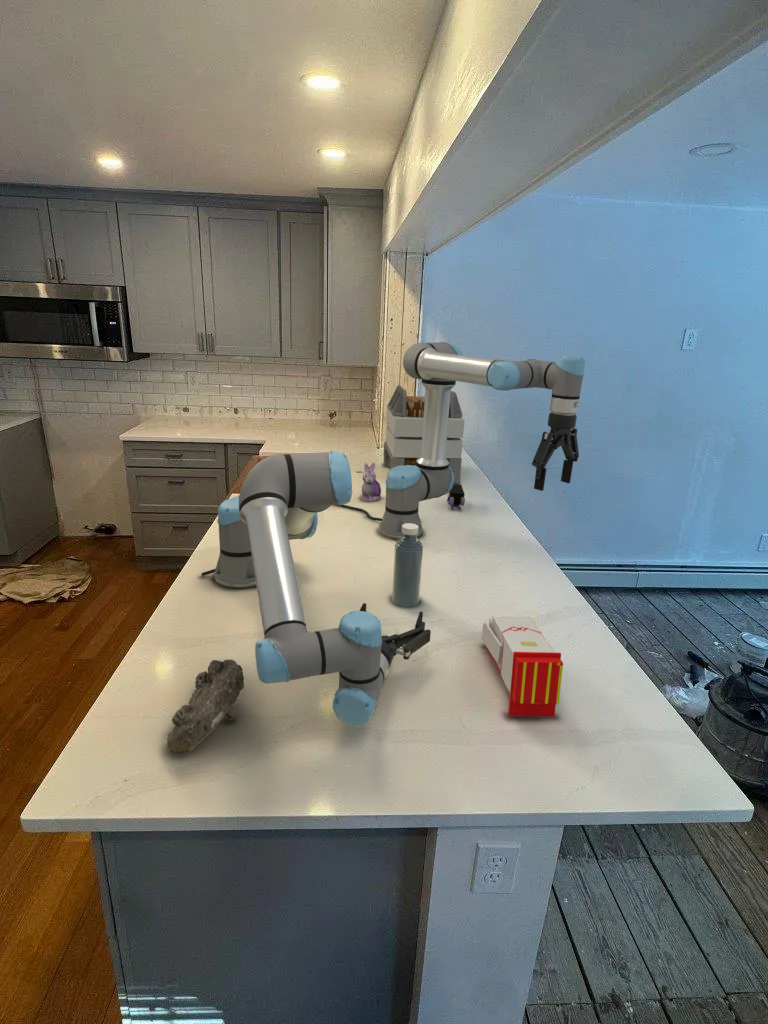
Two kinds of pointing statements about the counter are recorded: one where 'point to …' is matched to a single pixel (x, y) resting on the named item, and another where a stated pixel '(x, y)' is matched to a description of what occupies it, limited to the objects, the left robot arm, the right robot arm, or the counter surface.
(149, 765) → the counter surface
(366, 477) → the figurine
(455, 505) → the figurine character
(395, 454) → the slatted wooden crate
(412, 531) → the cap
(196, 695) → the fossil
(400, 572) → the bottle
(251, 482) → the left robot arm
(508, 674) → the toy
